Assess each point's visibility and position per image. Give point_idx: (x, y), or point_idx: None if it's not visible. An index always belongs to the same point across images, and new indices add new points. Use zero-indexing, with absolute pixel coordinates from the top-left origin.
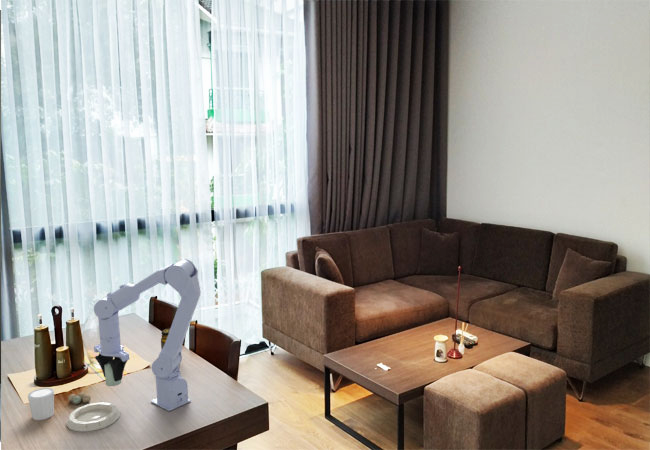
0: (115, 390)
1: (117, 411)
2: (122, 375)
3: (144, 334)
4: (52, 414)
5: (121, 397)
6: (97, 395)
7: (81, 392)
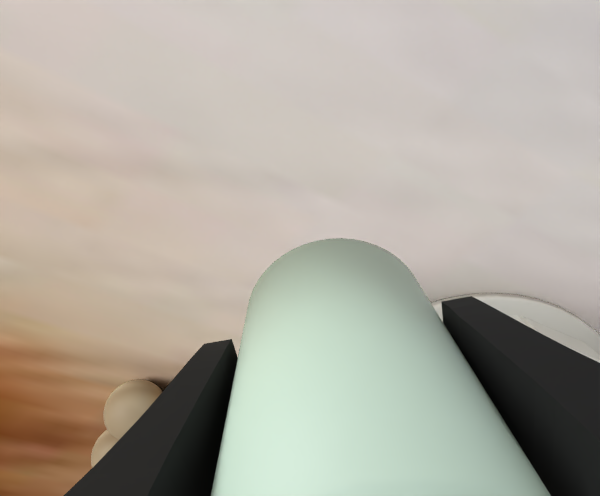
0: (130, 153)
1: (535, 315)
2: (506, 315)
3: None
4: None
5: (307, 177)
6: (134, 294)
7: (115, 428)
